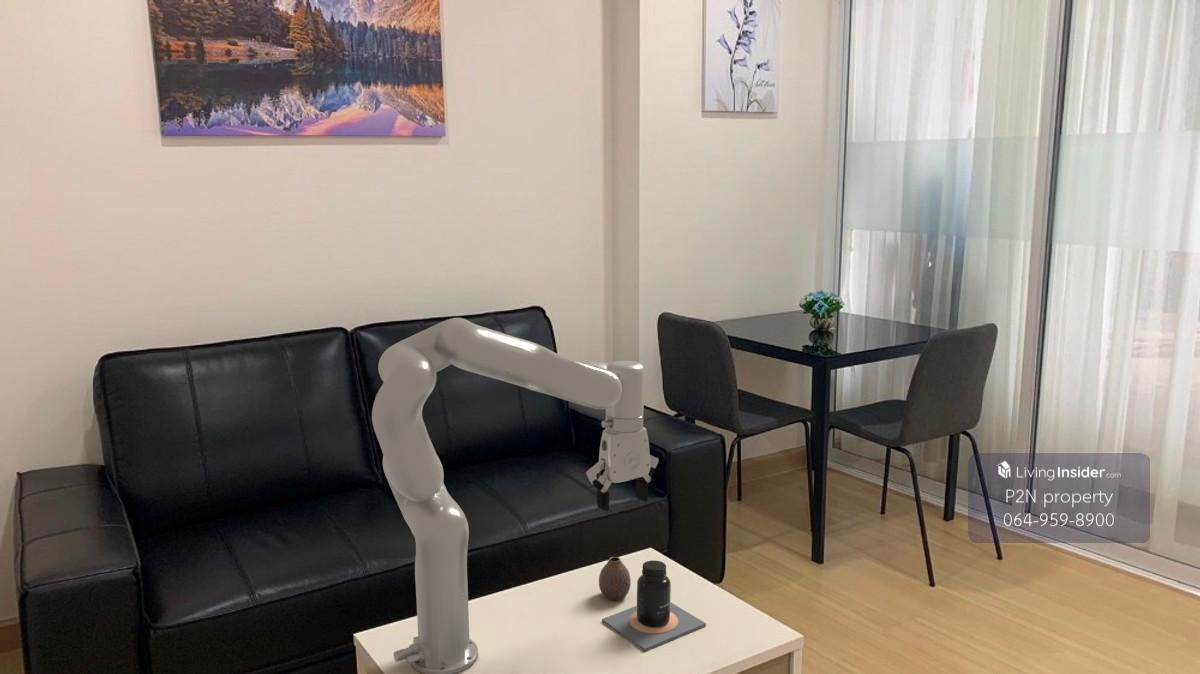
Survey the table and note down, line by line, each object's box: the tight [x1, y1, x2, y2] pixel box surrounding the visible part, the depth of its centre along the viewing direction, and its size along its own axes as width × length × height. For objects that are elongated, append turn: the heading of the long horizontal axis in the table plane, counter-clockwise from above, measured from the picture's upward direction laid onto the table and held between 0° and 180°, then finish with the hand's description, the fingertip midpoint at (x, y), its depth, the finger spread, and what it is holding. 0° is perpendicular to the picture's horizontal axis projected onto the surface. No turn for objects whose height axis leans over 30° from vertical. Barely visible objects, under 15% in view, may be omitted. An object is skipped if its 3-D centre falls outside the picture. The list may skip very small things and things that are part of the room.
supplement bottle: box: [636, 560, 672, 627], centre depth 173 cm, size 7×7×12 cm
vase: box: [598, 556, 632, 602], centre depth 185 cm, size 7×7×9 cm
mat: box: [601, 601, 707, 652], centre depth 175 cm, size 16×14×1 cm
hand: (622, 504), depth 174 cm, fingers open, 9 cm apart
